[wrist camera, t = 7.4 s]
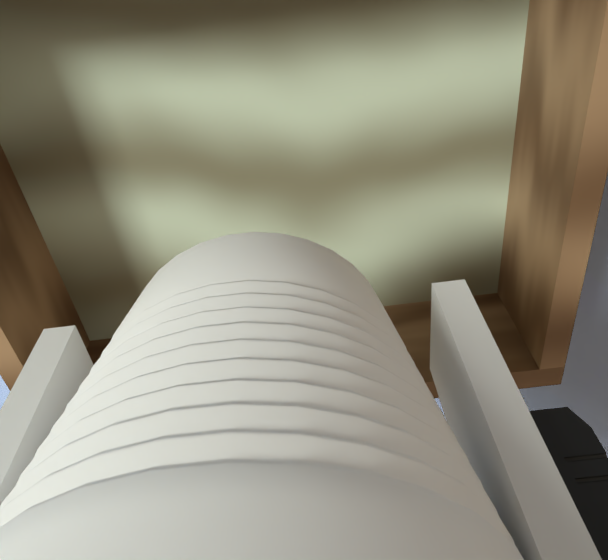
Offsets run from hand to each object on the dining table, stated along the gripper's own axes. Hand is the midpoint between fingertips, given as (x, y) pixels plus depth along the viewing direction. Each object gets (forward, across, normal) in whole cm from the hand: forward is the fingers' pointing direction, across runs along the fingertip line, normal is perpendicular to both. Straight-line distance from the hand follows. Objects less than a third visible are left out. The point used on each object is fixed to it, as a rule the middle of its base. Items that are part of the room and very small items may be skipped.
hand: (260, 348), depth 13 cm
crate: (+12, 0, 0) cm, 12 cm away
